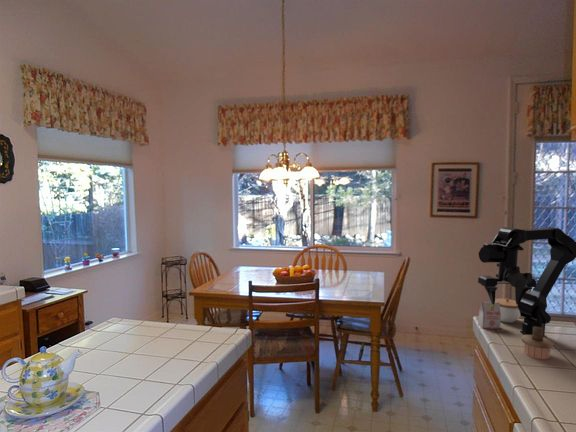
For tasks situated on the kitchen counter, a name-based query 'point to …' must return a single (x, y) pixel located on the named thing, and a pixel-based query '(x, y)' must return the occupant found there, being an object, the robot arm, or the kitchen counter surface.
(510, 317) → the lidded jar
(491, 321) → the white red-printed box
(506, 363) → the kitchen counter surface
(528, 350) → the bucket
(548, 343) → the lid
